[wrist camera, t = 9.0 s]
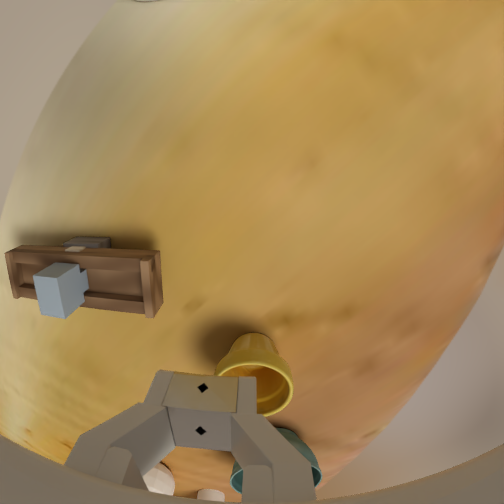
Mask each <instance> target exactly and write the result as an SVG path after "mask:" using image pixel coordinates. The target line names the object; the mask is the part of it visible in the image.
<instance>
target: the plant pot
mask: <svg viewBox="0 0 504 504" xmlns="http://www.w3.org/2000/svg"><path fill="white" fill-rule="evenodd" d="M214 376H231V377H239V376H241V377H256V396H257V414H262V415H263V416H264V417H266V416H270V415H273V414H275V413H277V412H279V411H281V410H282V409H283V408H285V407H286V406H287V405H288V403H289V402H290V400H291V398H292V396H293V380H292V375H291V371H290V368H289V366H288V364H287V363H286V361H285V360H284V359H283V358H282V357H280V355H279V353H278V351H277V349H276V347H275V345H274V343H273V342H272V340H271V339H270V338H268V337H267V336H265V335H263V334H259V333H248V334H244V335H242V336H240V337H239V338H238V339H237V340H236V341H235V342H234V343H233V345H232V347H231V349H230V351H229V353H228V354H227V355H226V356H225V357H223V358H222V359H221V361H220V362H219V363H218V365H217V367H216V370H215V373H214Z"/></svg>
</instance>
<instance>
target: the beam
mask: <svg viewBox="0 0 504 504" xmlns="http://www.w3.org/2000/svg"><path fill="white" fill-rule="evenodd" d="M5 258H6V264H7V269H8V274H9V279H10V284H11V289H12V293H13V297H14V298H16V299H18V298H20V297H25V298H30V299H36V300H38V299H37V294H36V289H35V285H34V279H33V275H34V274H36V273H38V272H40V271H41V270H43V269H45V268H46V267H48V266H50V265H52V264H53V263H55V262H56V263H69V264H79V269H86V271H87V278H88V285H89V289H87V290H86V291H85V292H84V293H83V294H84V300H85V302H84V303H82V304H81V305H80V307H88V308H95V309H103V310H111V311H120V312H129V313H138V314H145V316H146V318H154V317H155V315H156V313H157V312H158V310H159V309H160V307H161V306H162V304H163V291H162V277H161V261H160V251H158V250H132V249H111V242H110V237H75V238H73V239H71V240H69V241H67V242H65V243H63V247H58V246H33V245H21V246H19V247H17V248H15V249H12V250H10V251H8V252H6V253H5Z"/></svg>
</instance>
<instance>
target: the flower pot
mask: <svg viewBox="0 0 504 504" xmlns="http://www.w3.org/2000/svg"><path fill="white" fill-rule="evenodd" d="M276 429H277V431H278V432H279V433H280V434H281V435H282V436H283V437H284V438H285V439H286V440H287V441H288V442H289V443H290V444H291V445H293V446H294V447H295V448H296V449H297V450H298V451H299V452H300V453H301V454H302V455H303V456H304V457H305V458H306V459H307V460H308V461H309V462H310V463H311V468H312V475H313V481H314V487H316V486H317V485H318V484H319V483H320V482H321V480H322V473H321V470H320V468H319V466H318V462H317V459H316V457H315V455H314V454H313V452H312V451H311V449H310V448H309V447H308V446H307V445H306V444H305V443H304V442H303V441H302V440H300V439H299V438H298V437H297V435H296V434H295V433H294V432H292V431H290V430H288V429H284V428H276ZM242 484H243V470H242V468H241V467H240V465H239V464H238V462H237V461H236V460H235V463H234V466H233V471H232V475H231V478H230V485H231V487H232V488H233V489H234V490H235V491H237V492H238V493H240V494H242Z"/></svg>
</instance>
